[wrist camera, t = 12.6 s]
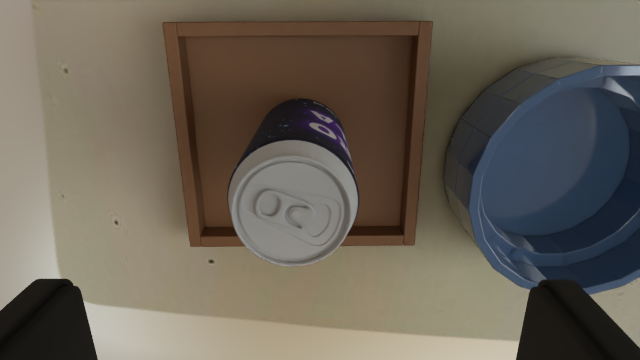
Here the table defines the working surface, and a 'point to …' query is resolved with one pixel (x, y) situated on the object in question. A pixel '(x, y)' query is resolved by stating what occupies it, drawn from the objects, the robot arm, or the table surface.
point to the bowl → (553, 173)
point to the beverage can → (294, 186)
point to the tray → (309, 83)
